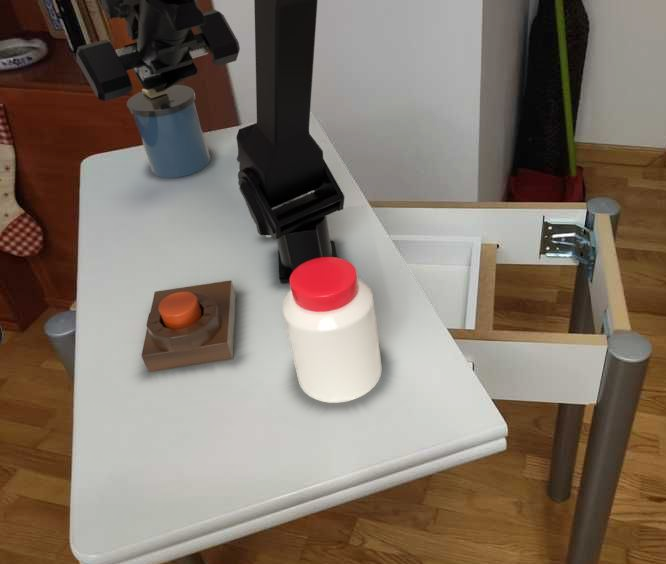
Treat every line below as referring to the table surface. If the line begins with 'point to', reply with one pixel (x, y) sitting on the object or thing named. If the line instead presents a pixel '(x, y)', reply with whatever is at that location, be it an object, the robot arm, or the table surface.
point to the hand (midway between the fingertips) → (157, 88)
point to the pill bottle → (332, 330)
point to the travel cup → (171, 131)
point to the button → (180, 310)
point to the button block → (192, 330)
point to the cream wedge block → (153, 93)
